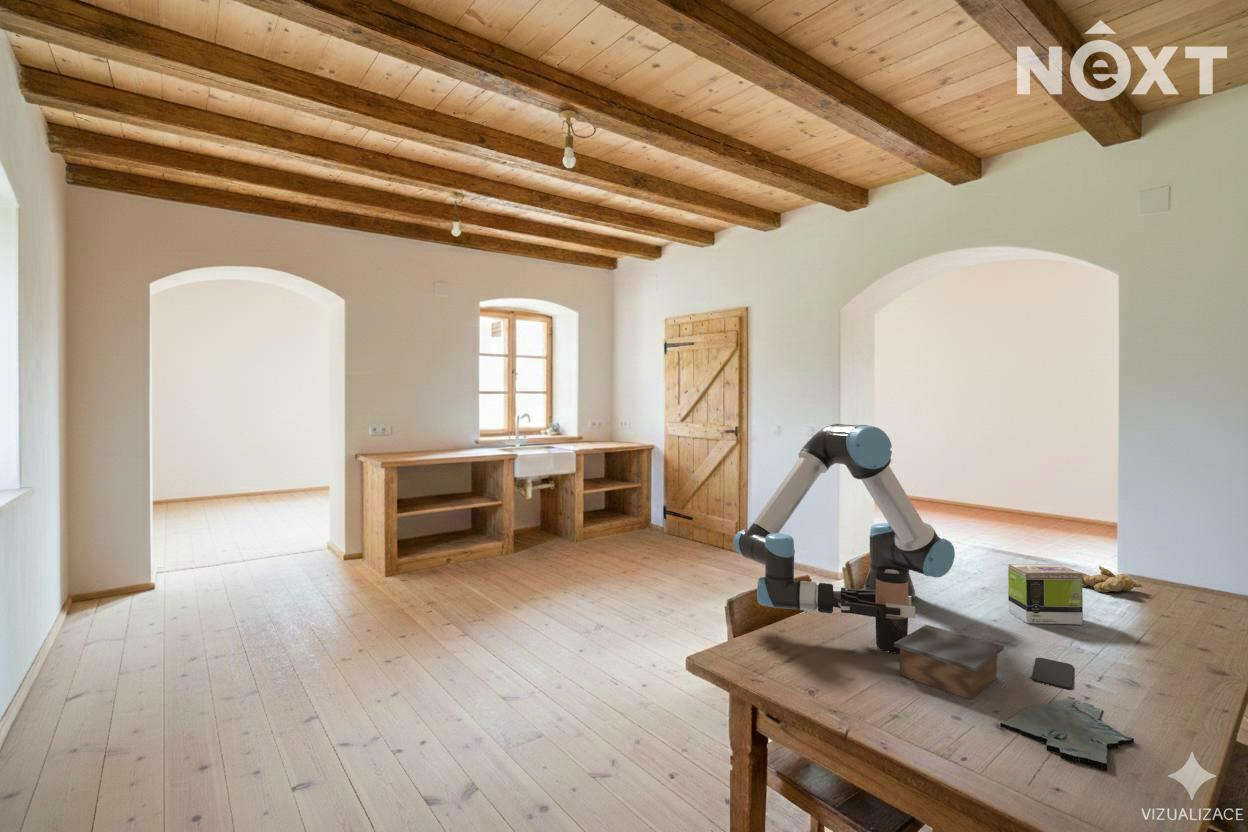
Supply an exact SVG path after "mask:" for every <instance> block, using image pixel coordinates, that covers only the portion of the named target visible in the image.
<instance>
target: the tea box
mask: <svg viewBox="0 0 1248 832" xmlns="http://www.w3.org/2000/svg"><path fill="white" fill-rule="evenodd" d="M1007 569H1008V570H1007V571H1008V572H1007V574H1008V575H1007V576H1008V577H1007V578H1008V583H1007V584H1008V588H1007V589H1008V597H1007V599H1008V613H1010V614H1012V615H1013V616H1014V617H1017V618H1018V619H1019V620H1020V621H1022V622H1024V623H1026V624H1035V625H1037V624H1040V625H1041V624H1043V625H1047V624H1048V625H1049V624H1050V625H1079V626H1080V625H1081V626H1082V625H1084V621H1083V619H1084V615H1083V614H1084V613H1083V611H1084V610H1083V608H1084V607H1083V606H1084V605H1083V602H1084V600H1083V599H1084V598H1083V597H1084V596H1083V593H1084V592H1083V584H1082V573H1083V572H1081V573H1079V572H1080V571H1077V570H1074V569H1071V568H1070V567H1067V566H1065V565H1062V564H1059V563H1058V564H1053V563H1052V564H1051V563H1050V564H1047V563H1045V564H1042V563H1040V564H1039V563H1038V564H1037V563H1020V564H1019V563H1008V565H1007Z"/></svg>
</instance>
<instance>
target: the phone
mask: <svg viewBox="0 0 1248 832" xmlns="http://www.w3.org/2000/svg"><path fill="white" fill-rule="evenodd" d="M1073 674H1074V666H1073V665H1072V664H1071V663H1069V662H1068V663H1067V662H1063V661H1058V660H1053V659H1049V658H1044V657H1036V658H1035V660H1034V664H1033V669H1032V673H1031V680H1032V681H1033V682H1035V683H1038V682H1039V684H1042V683H1044V684H1043V685H1046V684H1049V685H1048V686H1051V685H1052V686H1051V687H1056V688H1059V687H1060V689H1063V688H1064V689H1063V690H1072V689H1073V681H1074V679H1073V677H1074V675H1073Z"/></svg>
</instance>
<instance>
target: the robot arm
mask: <svg viewBox="0 0 1248 832" xmlns="http://www.w3.org/2000/svg"><path fill="white" fill-rule="evenodd" d="M891 448H893V446H892V441H891V439H890V437H889V435H888V434H887V433H886V432H885V431H884V430H882V429H881V428H879V427H876V426H874V425H873V426H871V425H867V424H843V423H834V424H829V425H827V426H825V427H823V428H821V429H820V430H819V431H817V432H815V434H814V435H812V437H810V439H809V440H808V441H807V442H806V443H805V444H804V445H803V446H802V448H801V449H800V451H799V453H798V459H797V460H796V462H795V463H794V465H793V467H791V470H790V471H789V473H788V474H787V475H786V476H785V478H784V479H783V481H782V482H781V483H780V484H779V486H778V487H777V489H776V490H775V492H774V493H773V494H772V495H771V497H770V498H769V500H768V501H767V503H766V504H765V506H764V507H763V508H762V510H760V512H759V514H758V516H757V517H756V518H755V520H754V521H753V522H752V524H751V525H750V527H749V528H748V529H741V530H740V531H738V532H737V533H736V534H735V536H734V538H733V544H732V545H733V547H734V549H735V551H736V552H737V553H738V554H739V555H741V556H742V557H744V558H746V559H749V560H752V561H755V562H756V563H758V564H761V565H763V566H764V567H765V572H764V573H765V575H764V577H759V578H758V580H757V584H756V585H757V586H756V587H757V589H756V599H757V603H758V604H759V605H761V606H764V607H769V608H774V609H785V610H796V611H803V612H804V613H808V612H816V611H818V612H819V613H823V614H833V613H834V608H837V609H840V612H841V613H842V614H852V615H853V614H854V615H860V616H865V617H873V618H875V617H878V618H882V619H886V615H889V616H898V617H907V618H908V619H916V606H914V605H912V601H915V598H916V590H915V587H914V584H913V580H912V577H911V575H910V571H913V572H915V573H918V574H920V575H924V576H926V577H932V578H935V579H936V578H942V577H944V576H945V575H947V574H948V573H949V571H950V570H951V569H952V567H953V565H954V561H955V557H956V552H955V547H954V545H953V543H952V542H951V541H950V540H948V539H946V538H943V537H942V538H941V537H939V535H938V533H937V532H936V530H935V529H934V527H933V526H932V525H931V524H929V523H927V522H924V521H923V519H922V518H921V516H920V514H919V513H918V511H917V509H916V508H915V506H914V504H913V503H912V501H911V500H910V498H909V496H908V495H907V493H906V491H905V490H904V487H903V486H902V485H901V483H900V481H899V479H898V478H897V477H896V475H895V473H894V472H893V469H892V468H891V466H890V465H891V463H892V454H893V453H892V452H893V451H892V450H891ZM836 464H839V465H844V466H845V467H846V468H847V470H848V471H849V473H850V475H852V477H853V478H854V479H856V480H861V483H863V484H864V487H865V488H866V490H867V491H868V492H869V494H870V496H871V498H872V499H873V501H874V502H875V504H876V506H877V507H878V509H879V511H880V512H881V513H882V515H883V517H884V519H885V520H886V521H887V522H883V523H876V524H872V526H870V530H869V531H870V532H869V533H870V534H869V570H868V573H867V576H866V579H865V581H864V584H863V588H862V589H860V588H859V589H858V588H850V587H849V588H848V587H840V590H838V591H837V590H834V585H833V584H832V583H825V582H819V583H818V584H817V582H816V581H806V580H795V554H796V550H795V542H794V541H795V539H794V538H793V537H792V536H791V535H790V534H786V533H780V532H781V531H782V529H783V527H785V524H787V522H788V520H789V519H790V518H791V516H792V515H793V514H794V512H795V510H796V509H797V508H798V506H799V505H800V504H801V502H802V501H803V500H804V498H805V496H806V495H807V494H808V492H809V491H810V489H811V488H812V487H813V485H814V484H815V482H816V481H817V480H818V478H820V475H821V474H825V473H827V472H828V470H829V469H830V468H831V467H832V466H833V465H836ZM879 566H896V567H901V568H904V569H906V570H907V571H908V606H906V605H896V604H887V603H886V605H883V604H878V603H876V568H877V567H879Z"/></svg>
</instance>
